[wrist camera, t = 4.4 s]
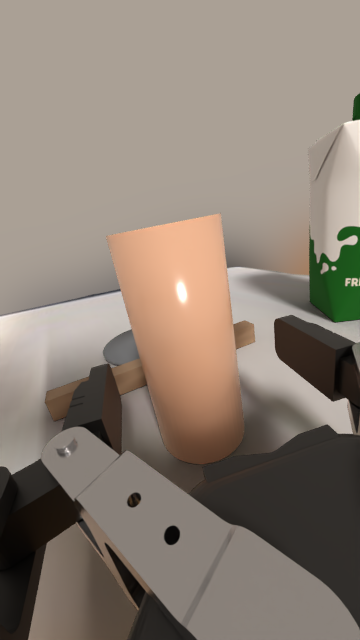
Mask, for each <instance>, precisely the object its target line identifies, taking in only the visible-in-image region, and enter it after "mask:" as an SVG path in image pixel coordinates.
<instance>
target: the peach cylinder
mask: <svg viewBox="0 0 360 640" xmlns="http://www.w3.org/2000/svg"><path fill="white" fill-rule="evenodd" d="M106 238H107V242H108V246H109V249H110V253H111V256H112V260H113V264H114V267H115V271H116V274H117V278H118V281H119V285H120V289H121V292H122V296H123V299H124V303H125V307H126V310H127V314H128V317H129V321H130V324H131V328H132V332H133V335H134V339H135V342H136V346H137V350H138V353H139V357H140V360H141V364H142V367H143V371H144V375H145V378H146V382H147V385H148V389H149V393H150V396H151V400H152V403H153V407H154V410H155V414H156V418H157V421H158V425H159V428H160V432H161V436H162V439H163V443H164V445H165V447H166V449H167V450H168V451H169V452H170V453H171V454H172V455H173V456H174V457H176V458H177V459H179V460H181V461H184V462H187V463H192V464H207V463H212V462H216V461H219V460H221V459H223V458H225V457H227V456H228V455H230V454H231V453H232V452H233V451H234V450H235V449H236V448H237V447H238V446H239V445H240V443H241V441H242V439H243V436H244V431H245V424H244V416H243V407H242V398H241V389H240V380H239V371H238V363H237V354H236V345H235V336H234V327H233V318H232V309H231V301H230V292H229V283H228V274H227V265H226V257H225V248H224V239H223V230H222V222H221V214H215V215H210V216H205V217H200V218H194V219H190V220H184V221H179V222H174V223H169V224H164V225H159V226H154V227H149V228H144V229H139V230H134V231H129V232H124V233H119V234H114V235H109V236H106Z"/></svg>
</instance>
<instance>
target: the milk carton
mask: <svg viewBox="0 0 360 640" xmlns="http://www.w3.org/2000/svg"><path fill="white" fill-rule="evenodd" d="M308 155H309V174H310V248H309V250H310V251H309V256H310V257H309V264H310V265H309V266H310V267H309V269H310V271H309V277H310V302H311V303H312V304H313V305H315V306H316V307H317V308H318V309H319V310H321V311H322V312H323V313H324V314H325V315H327V316H328V317H329V318H330V319H331V320H333V321H334V322H341V321H350V320H358V319H360V94H358V95H357V96H356V97H355V99H354V107H353V121H350V122H346V123H343V124H342V125H340V126H338V127H337V128H336V129H334V130H332V131H331V132H329V133H328V134H326V135H325V136H323V137H321V138H319V139H318V140H317V141H316V143H315V144H314V145H312V146H311V147H309V148H308Z"/></svg>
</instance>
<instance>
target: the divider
mask: <svg viewBox="0 0 360 640" xmlns="http://www.w3.org/2000/svg"><path fill="white" fill-rule="evenodd" d="M233 327H234V336H235V345H236V349H238V348H241V347H243V346H246V345H248V344H251V343H253V342H255V334H254V324H252V323H249V322H247V321H242V322H239V323H236V324H233ZM111 369H112V372H113V375H114V378H115V381H116V384H117V387H118V390H119V393H120V395H122V394H125V393H127V392H130V391H132V390H135V389H137V388H140V387H142V386H145V385H147V382H146V378H145V375H144V371H143V367H142V364H141V360H140V358H139V359H136V360H133V361H131V362H128V363H125V364H122V365H119V366H117V367H114V368H111ZM87 380H89V377H86V378H83V379H81V380H78V381H75V382H72V383H69V384H67V385H64V386H61V387H58V388H56V389H53V390H50V391H47V393H46V398H45V403H46V405H47V407H48V410H49V412H50V414H51V416H52V418H53V420H54V421H56V420H59V419H62V418H64V417H66V415H67V412H68V409H69V408H70V407H69V406H70V402H71V401H72V396H73V393H74V390H75V389H76V388H77V387H78V386H79V384H80V383H81V382H84V381H87Z"/></svg>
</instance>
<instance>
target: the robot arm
mask: <svg viewBox="0 0 360 640" xmlns="http://www.w3.org/2000/svg"><path fill="white" fill-rule="evenodd" d="M274 333H275V350H276V353H277V355H278V357H279V359H280V360H281V361H283V362H284V363H285V364H286V365H288V366H289V367H290V368H291V369H293V370H294V371H295V372H296V373H298V374H299V375H300V376H301V377H303V378H304V379H305V380H306V381H308V382H309V383H310V384H311V385H313V386H314V387H315V388H316V389H318V390H319V391H320V392H321V393H323V394H324V395H325V396H326V397H328V398H329V399H330V400H331V401H333V402H334V401H337V400H340V399H343V398H347V399H348V403H347V408H348V413H349V417H350V422H351V427H352V432H353V434H337V433H336V432H335V431H334V430H333V429H332V428H331V427H330V426H329V425H328V424H327V425H324V426H321V427H319V428H316V429H313V430H310V431H307V432H304V433H301V434H298V435H297V436H296V437H294V438H293V439H291V440H290V441H288V442H287V443H286V444H284V445H283V446H281V447H280V448H279V449H277V450H276V451H274V452H272V453H264V454H253V455H242V456H234V457H231V458H228V459H225V460H222V461H219V462H216V463H214V464H211V465H208V466H205V467H202V468H203V472H204V477H205V480H204V481H202V482H201V483H199V484H198V485H197V486H196V487H195V488H194V489H193V490H192V491H191V492H190V493H189V494H187V493H186V492H184V491H183V490H182V489H180V488H179V487H178V486H176V485H175V484H173V483H172V482H171V481H169V480H168V479H167V478H165V477H164V476H163V475H161V474H160V473H159V472H157V471H156V470H154V469H153V468H152V467H150V466H149V465H148V464H146V463H145V462H144V461H142V460H141V459H140V458H138V457H137V456H136V455H134V454H133V453H131V452H130V451H127V450H125V451H124V452H123V453H122V454H121V436H122V404H121V398H120V393H119V390H118V387H117V384H116V381H115V378H114V375H113V372H112V369H111V367H110V365H109V363H108V364H104V365H100V366H97V367H93V368H91V371H90V375H89V380H87V381H84V382H81V383H80V384H79V386H78V387H77V388H76V389H75V390H74V393H73V396H72V401H71V402H70V406H69V407H70V408H69V409H68V412H67V415H66V419H65V422H64V425H63V428H62V432H60V433H59V434H57V435H56V436H55V437H53V438H52V439H51V440H50V441H49V442H48V443H47V444H46V446H45V447H44V449H43V451H42V454H41V459H39V460H38V461H36V462H35V463H33V464H31V465H29V466H27V467H26V468H24V469H22V470H20V471H18V472H16V473H15V474H13V475H11V473H10V472H9V470H8V469H7V468H6V467H0V640H28V636H29V631H30V626H31V621H32V616H33V611H34V605H35V600H36V595H37V590H38V585H39V580H40V575H41V569H42V564H43V559H44V554H45V549H46V544H47V542H49V541H50V540H52V539H53V538H55V537H56V536H57V535H59V534H60V533H62V532H63V531H65V530H66V529H67V528H69V527H70V526H72V525H73V524H75V523H76V524H77V526H78V527H79V528H80V530H81V531H82V532H83V534H84V535H85V537H86V538H87V539H88V541H89V542H90V543H91V545H92V546H93V547H94V549H95V550H96V551H97V553H98V554H99V556H100V557H101V558H102V560H103V561H104V562H105V564H106V565H107V567H108V568H109V569H110V571H111V572H112V574H113V576H114V577H115V579H116V581H117V582H118V584H119V585H120V587H121V588H122V590H123V591H124V593H125V594H126V596H127V597H128V598H129V600H130V601H131V603H132V604H133V605H134V607H135V608H136V609H137V611H138V613H137V616H136V618H135V621H134V623H133V626H132V629H131V631H130V634H129V636H128V639H127V640H360V342H359V343H355V342H353V341H351V340H349V339H346V338H344V337H342V336H340V335H338V334H336V333H333V332H332V331H329V330H327V329H326V330H325V328H323V327H321V326H319V325H317V324H313V323H309V322H306V321H304V320H301V319H299V318H297V317H295V316H293V315H289V316H285V317H281V318H278V319H276V320H275V322H274Z"/></svg>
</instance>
